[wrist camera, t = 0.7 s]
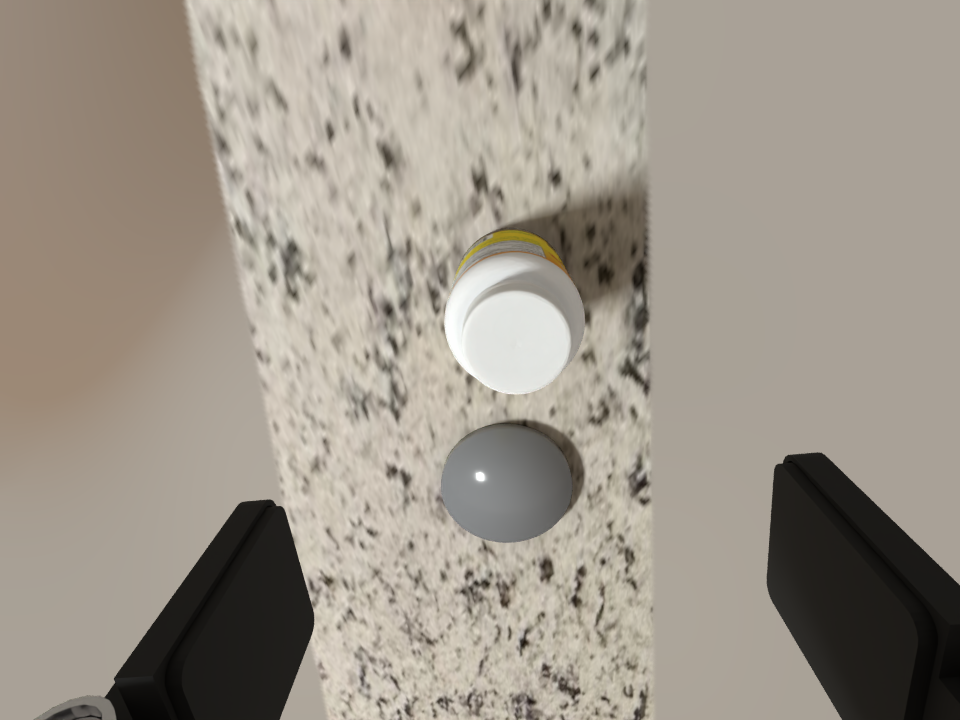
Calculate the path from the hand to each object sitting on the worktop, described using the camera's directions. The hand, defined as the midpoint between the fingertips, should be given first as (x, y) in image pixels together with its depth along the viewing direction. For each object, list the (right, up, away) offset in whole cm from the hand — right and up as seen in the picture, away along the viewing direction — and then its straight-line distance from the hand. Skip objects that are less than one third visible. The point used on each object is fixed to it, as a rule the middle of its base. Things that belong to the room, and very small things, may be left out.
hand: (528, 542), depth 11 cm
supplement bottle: (+1, +8, +19) cm, 21 cm away
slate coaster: (+1, -4, +23) cm, 24 cm away
